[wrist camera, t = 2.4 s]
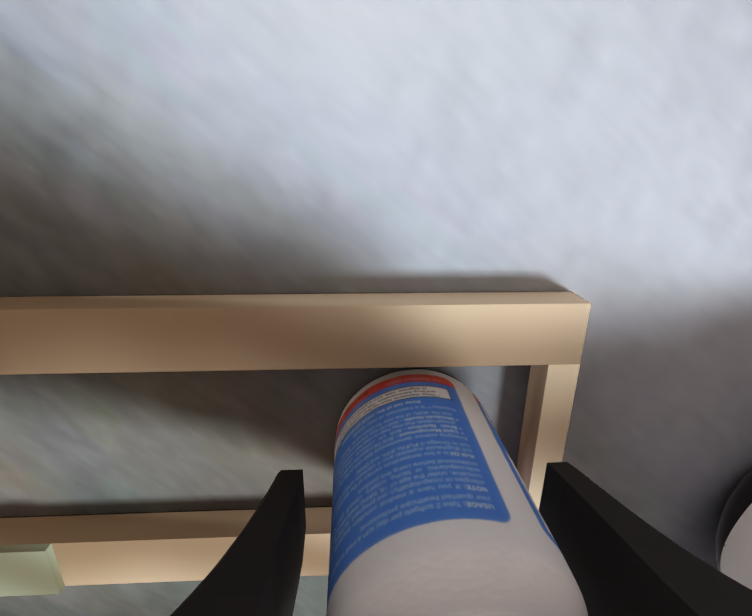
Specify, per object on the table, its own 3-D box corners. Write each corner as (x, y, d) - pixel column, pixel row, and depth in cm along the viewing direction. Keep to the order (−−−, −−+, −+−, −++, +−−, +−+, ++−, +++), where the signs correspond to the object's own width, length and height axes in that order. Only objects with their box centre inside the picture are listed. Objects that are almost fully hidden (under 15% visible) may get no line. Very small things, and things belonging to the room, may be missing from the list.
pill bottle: (307, 453, 15) (233, 908, 6) (390, 336, 14) (462, 693, 4) (430, 512, 16) (528, 970, 7) (517, 411, 15) (779, 812, 6)
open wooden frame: (530, 539, 17) (546, 573, 16) (-92, 562, 16) (-136, 601, 14) (571, 291, 13) (597, 306, 12) (-222, 298, 12) (-296, 316, 11)
